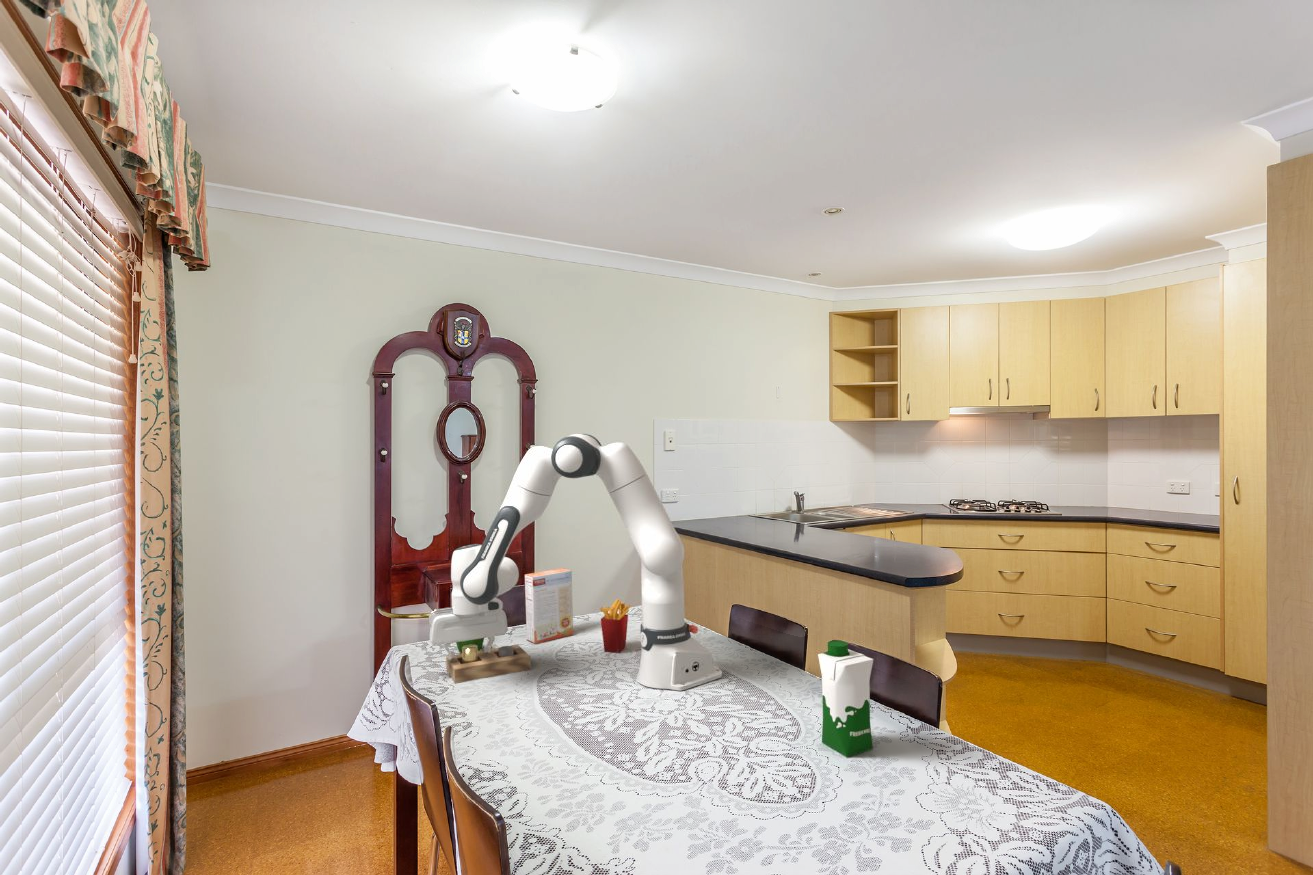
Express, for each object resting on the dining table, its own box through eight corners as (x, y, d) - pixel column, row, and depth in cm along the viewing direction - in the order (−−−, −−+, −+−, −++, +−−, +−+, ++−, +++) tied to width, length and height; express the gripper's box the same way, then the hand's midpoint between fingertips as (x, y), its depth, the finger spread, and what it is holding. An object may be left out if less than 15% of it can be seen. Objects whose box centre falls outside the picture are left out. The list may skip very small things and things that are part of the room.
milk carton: (847, 732, 138) (845, 636, 138) (880, 750, 130) (878, 648, 130) (815, 741, 134) (813, 643, 134) (847, 760, 126) (845, 656, 126)
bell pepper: (491, 651, 196) (490, 617, 196) (470, 659, 189) (469, 624, 189) (471, 646, 200) (471, 613, 200) (450, 654, 193) (449, 620, 193)
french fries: (600, 652, 192) (599, 601, 192) (610, 644, 200) (609, 594, 200) (628, 654, 190) (627, 603, 190) (637, 646, 198) (636, 596, 198)
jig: (517, 656, 190) (517, 639, 190) (530, 669, 179) (530, 650, 179) (446, 669, 181) (446, 651, 181) (455, 683, 170) (454, 663, 170)
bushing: (476, 669, 180) (475, 643, 180) (479, 673, 177) (478, 647, 177) (461, 671, 178) (460, 645, 178) (464, 676, 175) (463, 649, 175)
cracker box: (564, 631, 215) (563, 567, 215) (573, 635, 210) (572, 569, 210) (525, 640, 206) (524, 573, 206) (534, 644, 201) (533, 576, 201)
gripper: (430, 612, 170) (431, 666, 170) (508, 602, 180) (509, 652, 179) (426, 607, 176) (427, 659, 176) (502, 597, 185) (503, 646, 185)
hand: (469, 655), depth 178 cm, fingers open, 8 cm apart
